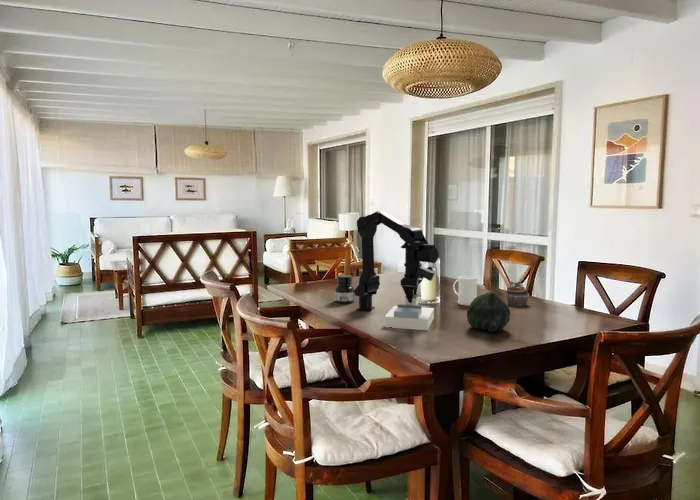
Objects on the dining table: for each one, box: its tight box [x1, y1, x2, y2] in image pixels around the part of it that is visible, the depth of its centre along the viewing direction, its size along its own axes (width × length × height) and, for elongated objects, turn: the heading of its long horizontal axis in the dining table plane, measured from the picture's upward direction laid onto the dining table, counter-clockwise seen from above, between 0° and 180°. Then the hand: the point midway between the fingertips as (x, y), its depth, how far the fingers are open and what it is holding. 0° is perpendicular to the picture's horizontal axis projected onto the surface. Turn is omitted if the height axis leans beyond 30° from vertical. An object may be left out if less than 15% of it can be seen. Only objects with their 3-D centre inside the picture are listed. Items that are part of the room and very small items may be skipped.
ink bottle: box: [334, 274, 355, 304], centre depth 228 cm, size 10×9×12 cm
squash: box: [466, 291, 511, 333], centre depth 180 cm, size 14×15×15 cm
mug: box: [452, 275, 478, 306], centre depth 226 cm, size 12×8×12 cm
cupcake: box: [505, 281, 530, 307], centre depth 223 cm, size 10×10×10 cm
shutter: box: [394, 303, 423, 318], centre depth 186 cm, size 8×9×3 cm
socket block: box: [383, 305, 435, 331], centre depth 191 cm, size 19×16×4 cm
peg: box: [405, 293, 419, 305], centre depth 194 cm, size 4×4×10 cm
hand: (412, 300), depth 194 cm, fingers open, 9 cm apart
